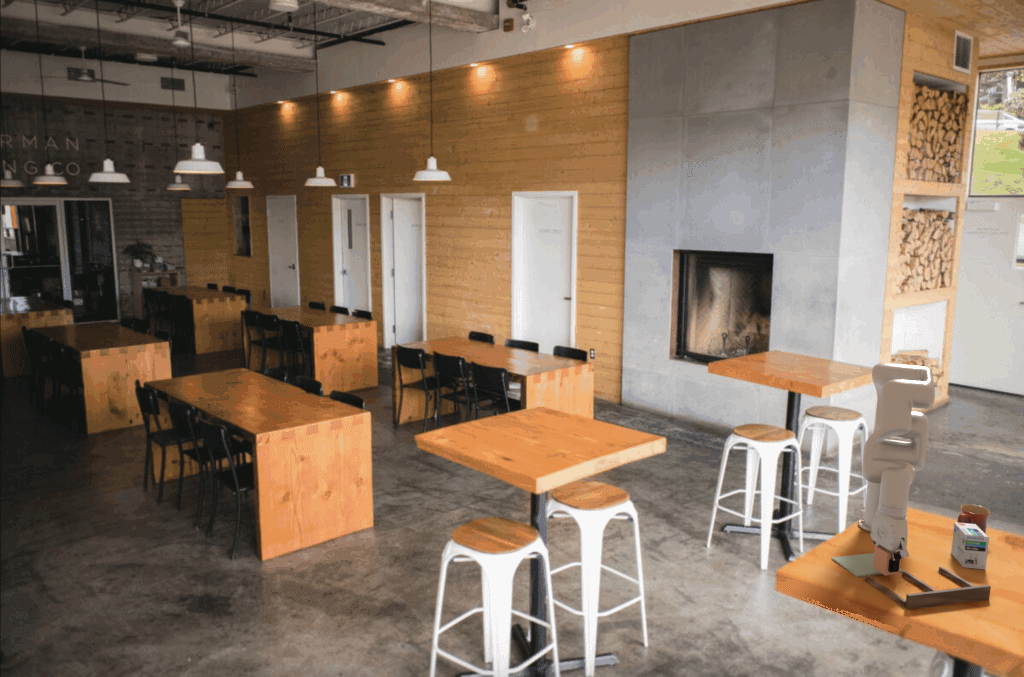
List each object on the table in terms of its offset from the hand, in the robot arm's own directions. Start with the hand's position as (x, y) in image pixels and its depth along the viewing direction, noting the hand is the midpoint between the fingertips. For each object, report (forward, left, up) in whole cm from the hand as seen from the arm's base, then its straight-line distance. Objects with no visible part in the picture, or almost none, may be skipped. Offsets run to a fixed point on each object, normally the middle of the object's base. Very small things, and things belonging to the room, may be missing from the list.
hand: (886, 566), depth 226 cm
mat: (-8, 0, -4) cm, 9 cm away
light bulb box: (-4, +33, -4) cm, 34 cm away
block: (0, 0, -1) cm, 1 cm away
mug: (-18, +47, -4) cm, 51 cm away
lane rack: (+8, +6, -4) cm, 11 cm away
